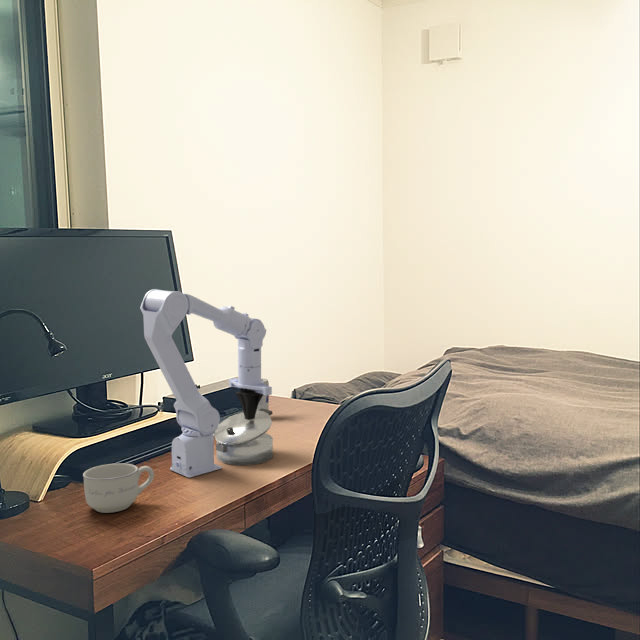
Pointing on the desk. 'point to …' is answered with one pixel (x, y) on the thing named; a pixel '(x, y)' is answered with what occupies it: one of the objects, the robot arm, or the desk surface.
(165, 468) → the desk surface
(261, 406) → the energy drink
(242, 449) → the pot
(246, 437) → the lid
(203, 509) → the desk surface
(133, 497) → the teacup
